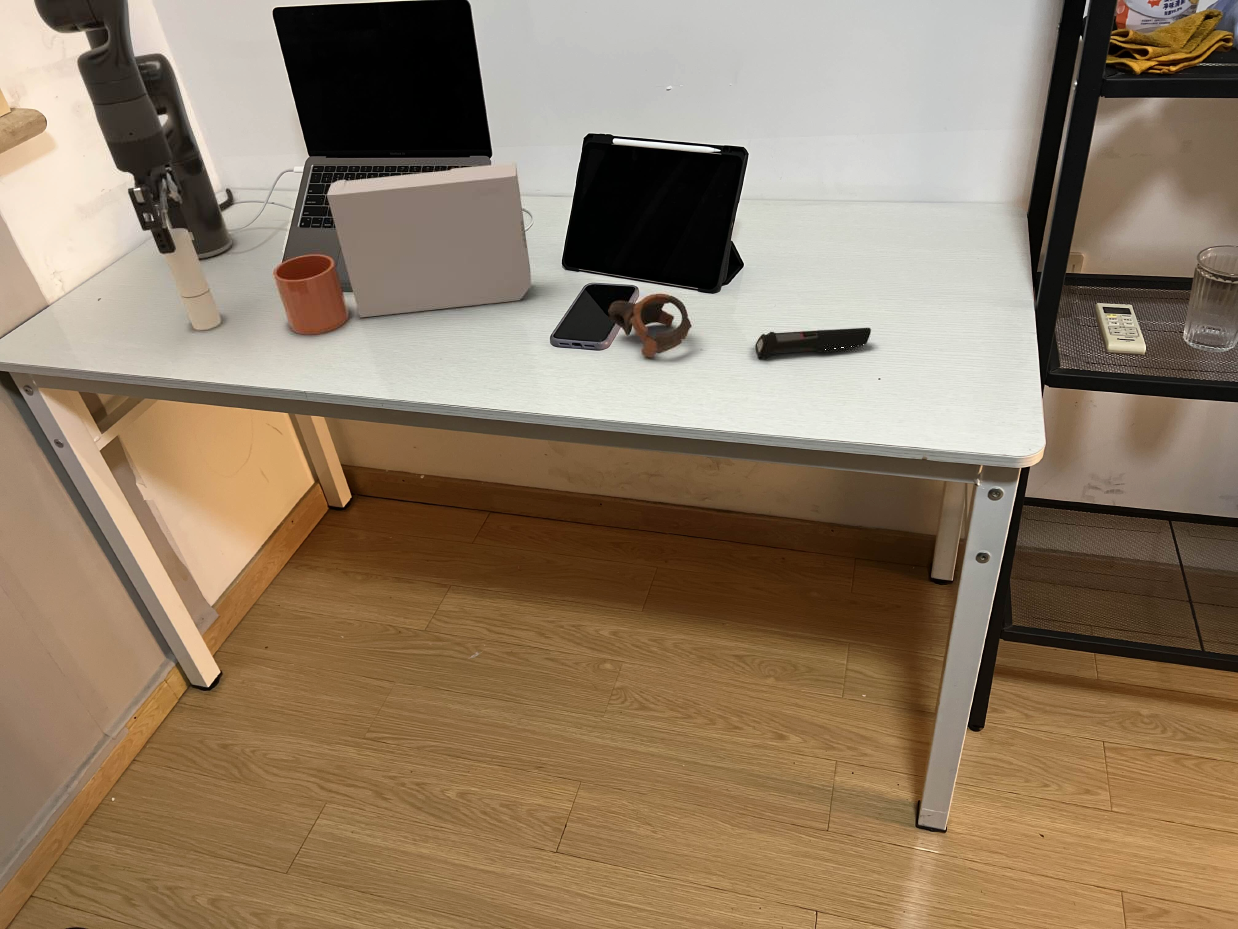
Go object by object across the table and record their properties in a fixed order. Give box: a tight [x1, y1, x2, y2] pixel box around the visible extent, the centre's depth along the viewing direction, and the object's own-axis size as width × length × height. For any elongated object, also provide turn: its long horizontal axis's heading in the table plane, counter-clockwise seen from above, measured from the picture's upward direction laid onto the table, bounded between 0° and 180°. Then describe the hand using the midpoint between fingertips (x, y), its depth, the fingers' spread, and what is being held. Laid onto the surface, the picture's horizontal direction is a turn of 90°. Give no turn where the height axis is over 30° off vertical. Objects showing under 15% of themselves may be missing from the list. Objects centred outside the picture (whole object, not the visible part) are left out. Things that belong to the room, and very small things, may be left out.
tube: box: [163, 228, 222, 331], centre depth 141 cm, size 4×4×15 cm
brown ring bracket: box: [607, 293, 693, 359], centre depth 131 cm, size 12×10×8 cm
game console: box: [326, 161, 532, 318], centre depth 141 cm, size 6×27×20 cm, turn 96°
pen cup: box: [272, 253, 350, 336], centre depth 141 cm, size 9×9×9 cm
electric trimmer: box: [754, 327, 872, 360], centre depth 127 cm, size 4×16×3 cm, turn 91°
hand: (175, 240), depth 137 cm, fingers open, 8 cm apart
